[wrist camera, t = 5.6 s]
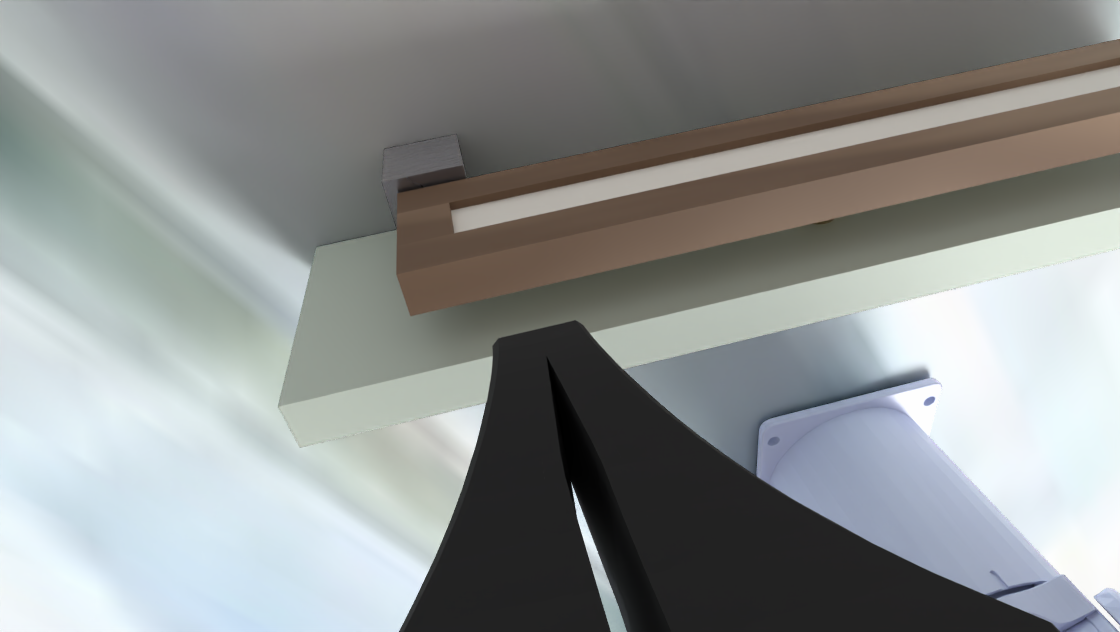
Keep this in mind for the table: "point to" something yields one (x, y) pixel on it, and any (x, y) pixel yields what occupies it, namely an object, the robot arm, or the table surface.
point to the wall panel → (662, 289)
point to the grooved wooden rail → (753, 177)
